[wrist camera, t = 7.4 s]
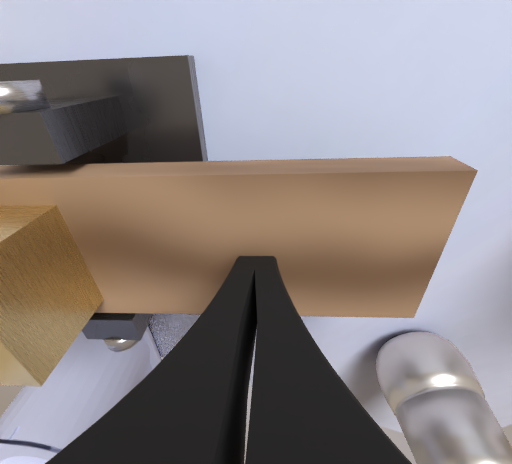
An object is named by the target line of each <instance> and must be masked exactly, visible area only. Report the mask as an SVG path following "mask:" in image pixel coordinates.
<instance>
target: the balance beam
mask: <svg viewBox="0 0 512 464" xmlns="http://www.w3.org/2000/svg"><path fill="white" fill-rule="evenodd" d="M477 171H478V170H476V169H474V168H472V167H470V166H468V165H466V164H464V163H462V162H460V161H458V160H456V159H454V158H453V157H451V156H445V157H397V158H348V159H300V160H251V161H203V162H154V163H106V164H57V165H9V166H0V205H57V206H58V208H59V210H60V212H61V214H62V216H63V218H64V220H65V222H66V224H67V226H68V229H69V231H70V233H71V235H72V237H73V239H74V241H75V243H76V245H77V247H78V249H79V251H80V253H81V255H82V257H83V259H84V261H85V263H86V265H87V267H88V269H89V271H90V273H91V275H92V277H93V279H94V281H95V283H96V285H97V287H98V289H99V291H100V293H101V295H102V297H103V299H104V300H103V301H102V303H101V304H100V305H99V307H98V308H97V310H96V311H95V312H94V313H151V314H202V313H203V312H204V310H205V309H206V308H207V306H208V305H209V304H210V302H211V301H212V299H213V298H214V296H215V295H216V293H217V292H218V290H219V289H220V287H221V286H222V284H223V283H224V281H225V279H226V278H227V276H228V274H229V272H230V271H231V269H232V267H233V265H234V263H235V261H236V259H237V258H238V257H239V256H274V257H275V258H276V259H277V264H278V268H279V271H280V274H281V277H282V280H283V282H284V285H285V287H286V290H287V292H288V294H289V296H290V298H291V300H292V302H293V304H294V306H295V308H296V310H297V312H298V314H299V316H330V317H390V318H414V316H415V314H416V311H417V309H418V307H419V304H420V302H421V300H422V298H423V295H424V293H425V291H426V288H427V286H428V284H429V281H430V279H431V277H432V275H433V272H434V270H435V268H436V265H437V263H438V261H439V258H440V256H441V254H442V252H443V249H444V247H445V245H446V242H447V240H448V238H449V235H450V233H451V231H452V228H453V226H454V224H455V222H456V219H457V217H458V215H459V212H460V210H461V208H462V205H463V203H464V201H465V199H466V196H467V194H468V192H469V189H470V187H471V185H472V182H473V180H474V178H475V175H476V173H477Z"/></svg>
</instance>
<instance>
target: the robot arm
mask: <svg viewBox="0 0 512 464" xmlns="http://www.w3.org/2000/svg"><path fill="white" fill-rule="evenodd" d="M256 329H257V335H256ZM255 336H256V349H255V362H254V374H253V386H252V387H253V388H252V398H251V409H250V421H249V431H248V442H247V452H246V462H245V464H412V463H411V462H410V461H409V460H408V459H407V458H406V457H405V456H404V454H402V452H401V451H400V450H399V449H398V448H397V447H396V446H395V444H394V443H393V442H392V441H391V440H390V439H389V437H388V436H387V435H386V434H385V433H384V432H383V431H382V429H381V428H380V427H379V426H378V425H377V423H376V422H375V421H374V420H373V419H372V417H371V416H370V415H369V414H368V413H367V411H366V410H365V409H364V408H363V407H362V405H361V404H360V403H359V401H358V400H357V399H356V398H355V396H354V395H353V394H352V392H351V391H350V390H349V389H348V387H347V386H346V385H345V383H344V382H343V381H342V379H341V378H340V377H339V376H338V374H337V373H336V372H335V370H334V369H333V368H332V366H331V365H330V363H329V362H328V360H327V359H326V357H325V356H324V355H323V353H322V352H321V350H320V349H319V347H318V346H317V344H316V343H315V341H314V339H313V338H312V336H311V335H310V333H309V331H308V330H307V328H306V326H305V325H304V323H303V321H302V319H301V317H300V316H299V314H298V312H297V310H296V308H295V306H294V304H293V302H292V300H291V298H290V296H289V294H288V292H287V290H286V287H285V285H284V282H283V280H282V277H281V274H280V271H279V268H278V264H277V259H276V258H275V257H274V256H239V257H238V258H237V259H236V261H235V263H234V265H233V267H232V269H231V271H230V272H229V274H228V276H227V278H226V279H225V281H224V283H223V284H222V286H221V287H220V289H219V290H218V292H217V293H216V295H215V296H214V298H213V299H212V301H211V302H210V304H209V305H208V306H207V308H206V309H205V310H204V312H203V313H202V314H201V316H200V317H199V318H198V320H197V321H196V322H195V323H194V325H193V326H192V327H191V328H190V330H189V331H188V332H187V333H186V334H185V336H184V337H183V338H182V339H181V340H180V341H179V342H178V344H177V345H176V346H175V347H174V348H173V349H172V350H171V351H170V352H169V353H168V354H167V355H166V356H165V357H164V359H163V360H162V359H161V357H160V354H159V352H158V349H157V347H156V344H155V342H154V339H153V337H152V334H151V332H150V329H149V327H148V326H147V329H146V331H145V333H144V335H143V337H142V339H141V340H140V341H139V342H138V343H137V344H136V345H134V346H133V347H132V348H130V349H128V350H125V351H122V352H113V351H111V350H109V349H108V347H107V346H106V344H105V342H104V340H102V339H87V338H86V337H85V335H84V333H83V332H82V331H81V332H80V333H79V335H78V336H77V338H76V339H75V340H74V342H73V343H72V345H71V346H70V347H69V349H68V350H67V352H66V353H65V354H64V356H63V357H62V359H61V360H60V361H59V363H58V364H57V366H56V367H55V368H54V370H53V371H52V373H51V374H50V375H49V377H48V378H47V380H46V381H45V382H44V384H43V385H42V387H37V386H24V387H23V388H22V390H21V391H20V393H19V394H18V395H17V396H16V398H15V399H14V400H13V401H12V403H11V404H10V405H9V407H8V408H7V409H6V411H5V412H4V413H3V414H2V416H1V417H0V464H244V453H245V433H246V415H247V414H246V413H247V398H248V387H249V380H250V373H251V365H252V358H253V351H254V344H255Z"/></svg>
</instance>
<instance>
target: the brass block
mask: <svg viewBox="0 0 512 464" xmlns="http://www.w3.org/2000/svg"><path fill="white" fill-rule="evenodd" d="M103 300H104V299H103V297H102V295H101V293H100V291H99V289H98V287H97V285H96V283H95V281H94V279H93V277H92V275H91V273H90V271H89V269H88V267H87V265H86V263H85V261H84V259H83V257H82V255H81V253H80V251H79V249H78V247H77V245H76V243H75V241H74V239H73V237H72V235H71V233H70V231H69V229H68V226H67V224H66V222H65V220H64V218H63V216H62V214H61V212H60V210H59V208H58V206H57V205H0V385H9V386H10V385H11V386H37V387H42V385H43V384H44V382H45V381H46V380H47V378H48V377H49V375H50V374H51V373H52V371H53V370H54V368H55V367H56V366H57V364H58V363H59V361H60V360H61V359H62V357H63V356H64V354H65V353H66V352H67V350H68V349H69V347H70V346H71V345H72V343H73V342H74V340H75V339H76V338H77V336H78V335H79V333H80V332H81V331H82V329H83V328H84V326H85V325H86V324H87V322H88V321H89V319H90V318H91V317H92V315H93V314H94V312H95V311H96V310H97V308H98V307H99V305H100V304H101V303H102V301H103Z"/></svg>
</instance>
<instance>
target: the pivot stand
mask: <svg viewBox="0 0 512 464" xmlns="http://www.w3.org/2000/svg"><path fill="white" fill-rule="evenodd" d="M203 161H208V158H207V150H206V143H205V136H204V129H203V121H202V114H201V107H200V100H199V92H198V85H197V78H196V71H195V63H194V56H189V55H185V56H163V57H142V58H121V59H99V60H78V61H56V62H35V63H13V64H0V165H57V164H106V163H154V162H203ZM152 316H153V314H151V313H94V314H93V315H92V317H91V318H90V319H89V321H88V322H87V324H86V325H85V326H84V328H83V329H82V332H83V333H84V335H85V337H86V338H87V339H102V340H104V342H105V344H106V346H107V347H108V349H109V350H111V351H113V352H122V351H125V350H128V349H130V348H132V347H133V346H134V345H136V344H137V343H138V342H139V341H140V340H141V339H142V337H143V335H144V333H145V331H146V329H147V326H148V324H149V322H150V320H151V318H152Z"/></svg>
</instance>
